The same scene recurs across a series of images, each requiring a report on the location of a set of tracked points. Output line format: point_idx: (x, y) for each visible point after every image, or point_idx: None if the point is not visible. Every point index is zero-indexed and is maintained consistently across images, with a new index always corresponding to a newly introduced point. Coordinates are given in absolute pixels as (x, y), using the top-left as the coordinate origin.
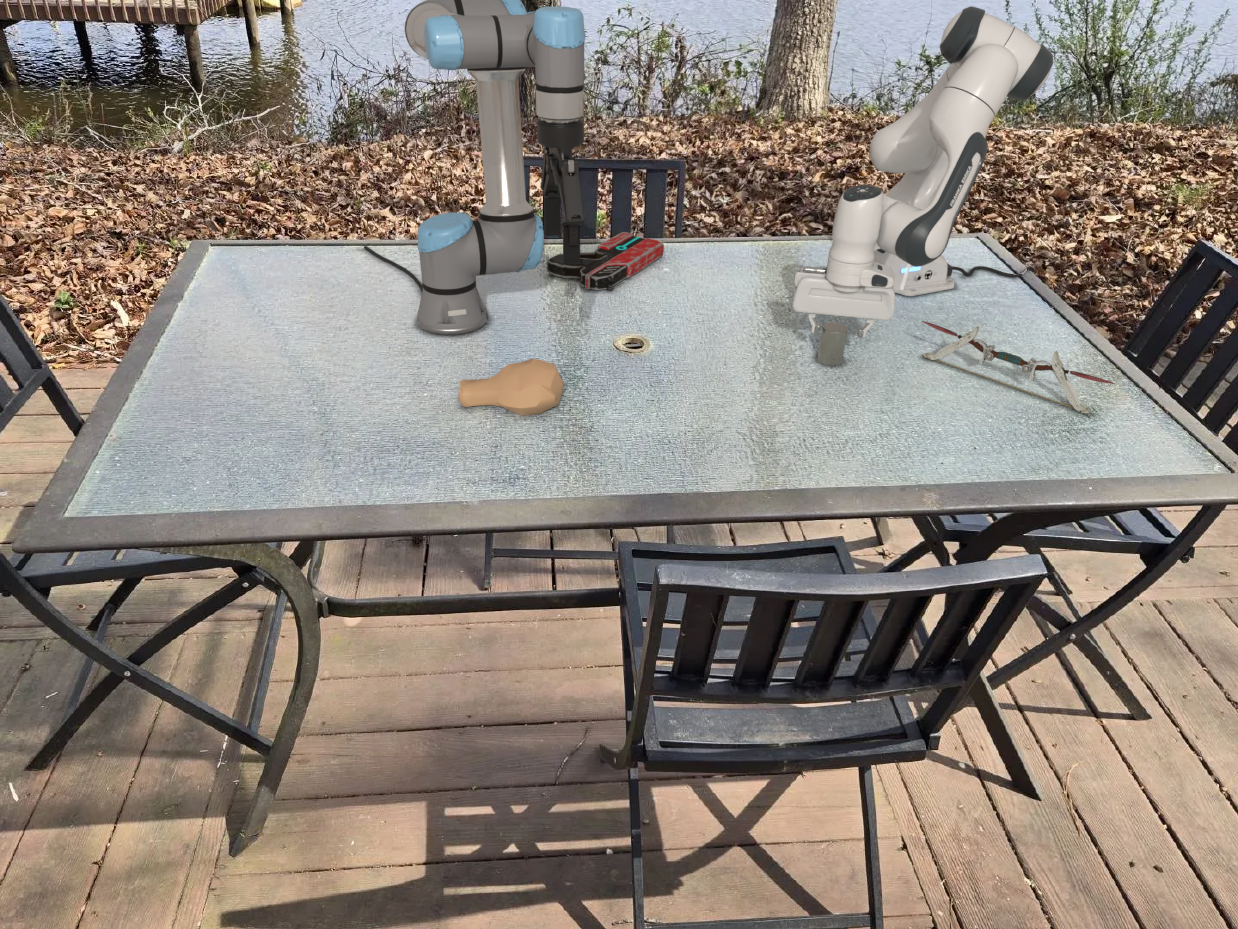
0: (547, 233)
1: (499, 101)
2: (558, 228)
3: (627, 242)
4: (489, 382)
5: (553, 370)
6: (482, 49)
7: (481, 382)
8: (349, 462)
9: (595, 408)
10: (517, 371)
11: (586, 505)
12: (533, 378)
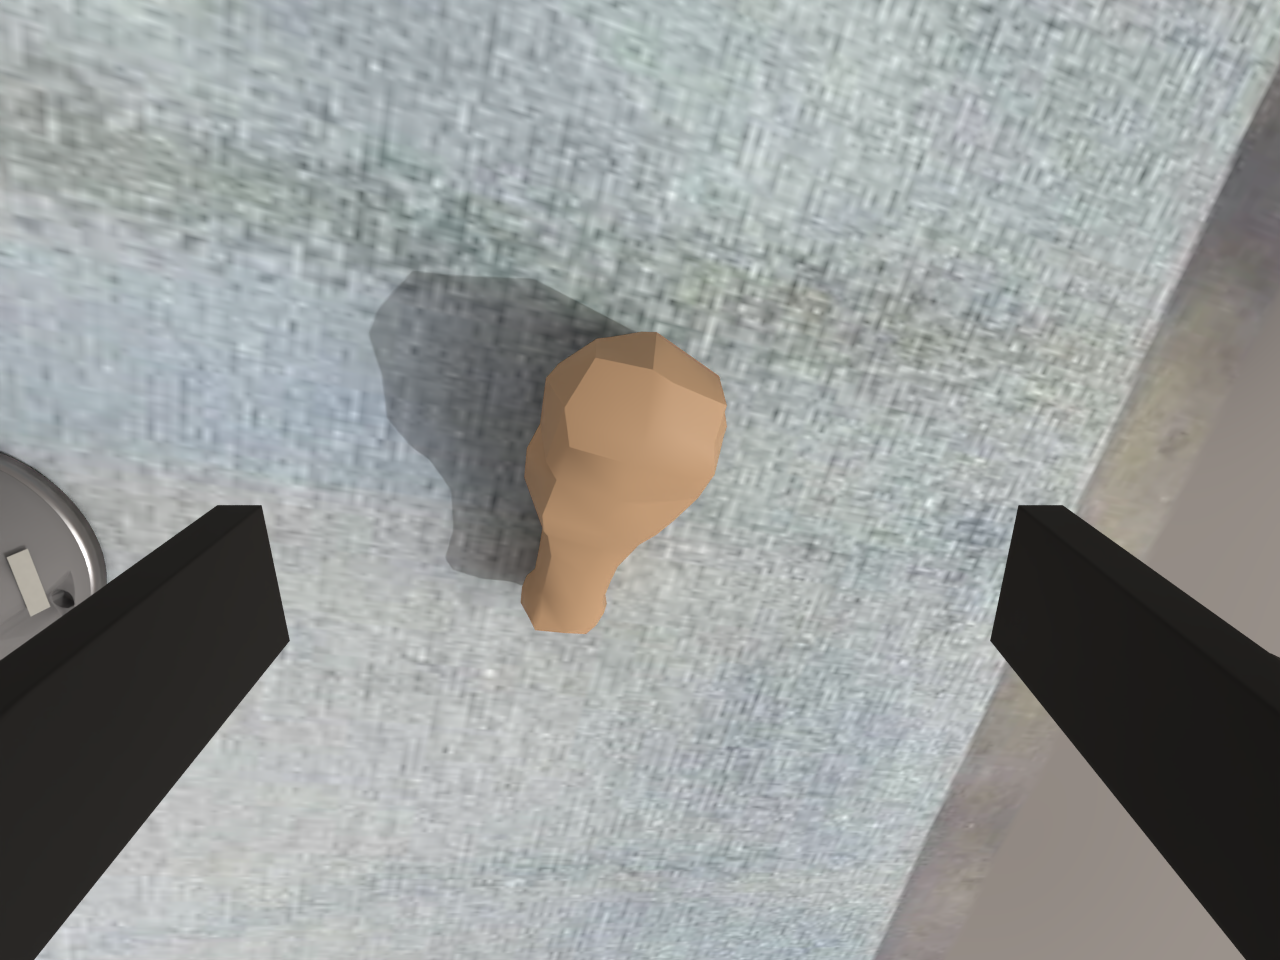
0: (276, 640)
1: None
2: (229, 558)
3: None
4: (593, 565)
5: (660, 385)
6: None
7: (574, 582)
8: (766, 833)
9: (687, 214)
10: (624, 503)
11: (1173, 385)
12: (691, 463)
